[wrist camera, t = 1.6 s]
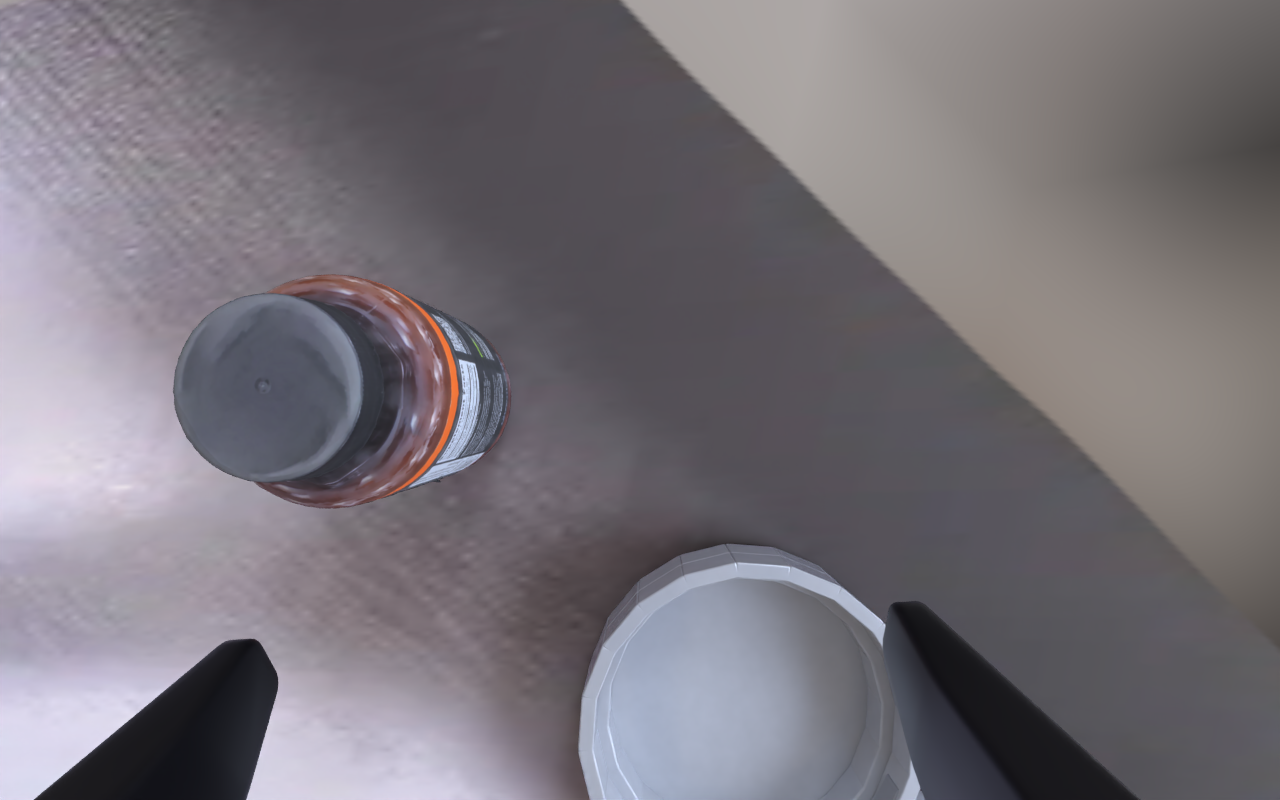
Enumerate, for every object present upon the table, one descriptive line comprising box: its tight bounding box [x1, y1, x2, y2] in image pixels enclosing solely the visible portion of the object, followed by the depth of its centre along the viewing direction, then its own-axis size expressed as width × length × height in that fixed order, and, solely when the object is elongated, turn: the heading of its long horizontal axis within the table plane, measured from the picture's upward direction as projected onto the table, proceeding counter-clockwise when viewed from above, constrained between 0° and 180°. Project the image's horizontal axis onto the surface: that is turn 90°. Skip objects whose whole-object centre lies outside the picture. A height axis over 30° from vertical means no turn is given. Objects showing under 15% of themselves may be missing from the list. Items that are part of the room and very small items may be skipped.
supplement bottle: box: [173, 275, 511, 508], centre depth 19 cm, size 6×6×11 cm
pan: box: [578, 544, 920, 800], centre depth 23 cm, size 11×11×4 cm
